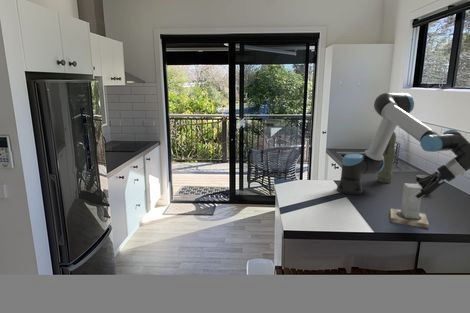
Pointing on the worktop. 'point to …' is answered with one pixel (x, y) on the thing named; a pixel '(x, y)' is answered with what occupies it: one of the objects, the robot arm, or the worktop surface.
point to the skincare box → (407, 206)
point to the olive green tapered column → (388, 161)
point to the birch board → (408, 219)
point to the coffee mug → (420, 178)
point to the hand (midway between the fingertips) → (409, 196)
